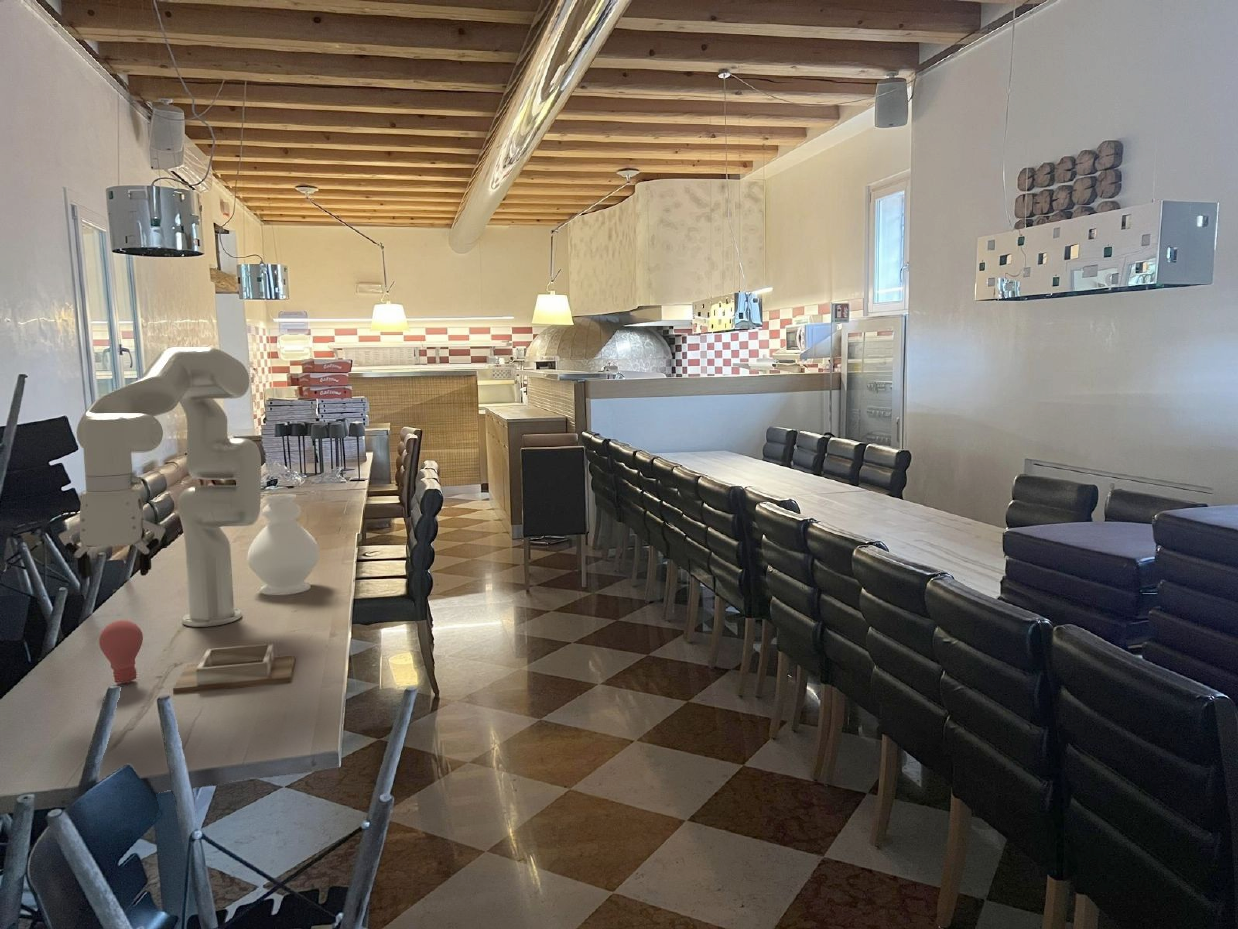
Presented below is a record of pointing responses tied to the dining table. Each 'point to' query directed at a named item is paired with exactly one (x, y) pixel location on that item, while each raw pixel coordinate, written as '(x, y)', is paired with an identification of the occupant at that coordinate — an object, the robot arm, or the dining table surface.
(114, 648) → the light bulb
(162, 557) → the dining table surface
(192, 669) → the bulb holder
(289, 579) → the decorative vase
